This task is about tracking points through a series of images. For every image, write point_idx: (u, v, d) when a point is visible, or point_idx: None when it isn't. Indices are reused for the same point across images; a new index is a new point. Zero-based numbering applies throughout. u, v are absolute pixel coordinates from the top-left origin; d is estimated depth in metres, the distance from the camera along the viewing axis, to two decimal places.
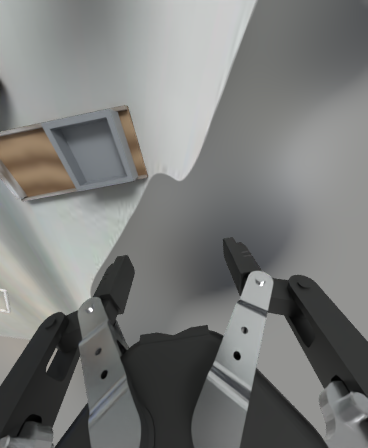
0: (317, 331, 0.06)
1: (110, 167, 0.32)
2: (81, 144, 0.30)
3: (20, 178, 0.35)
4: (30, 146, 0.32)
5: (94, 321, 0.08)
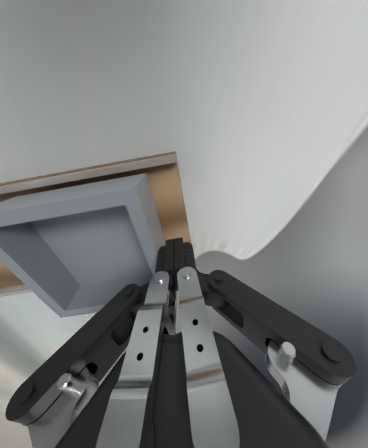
0: (243, 312, 0.07)
1: (124, 265, 0.17)
2: (67, 233, 0.14)
3: None
4: None
5: (157, 295, 0.08)
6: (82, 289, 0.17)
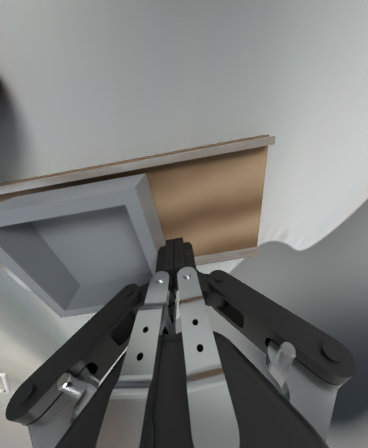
0: (243, 312, 0.07)
1: (124, 265, 0.17)
2: (67, 233, 0.14)
3: None
4: None
5: (157, 295, 0.08)
6: (82, 289, 0.17)
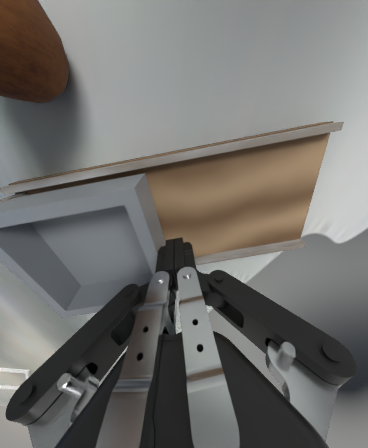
0: (243, 312, 0.07)
1: (125, 265, 0.17)
2: (67, 234, 0.14)
3: None
4: None
5: (157, 295, 0.08)
6: (83, 289, 0.17)
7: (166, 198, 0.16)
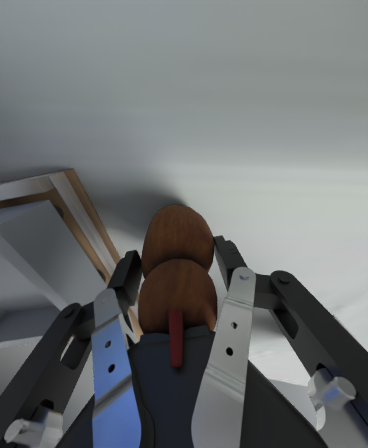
0: (300, 323, 0.06)
1: None
2: None
3: None
4: None
5: (107, 312, 0.08)
6: None
7: None
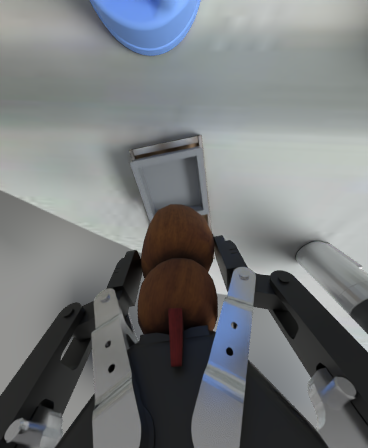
0: (300, 323, 0.06)
1: (160, 194, 0.31)
2: (181, 170, 0.29)
3: None
4: None
5: (107, 312, 0.08)
6: (141, 168, 0.27)
7: None
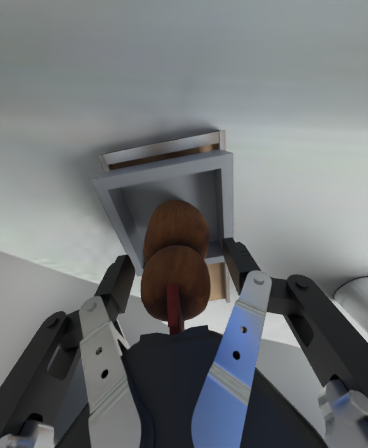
0: (316, 330, 0.06)
1: None
2: (189, 191, 0.17)
3: None
4: None
5: (95, 320, 0.08)
6: (118, 188, 0.15)
7: None
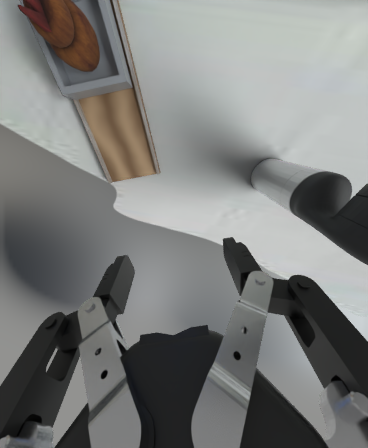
0: (317, 331, 0.06)
1: None
2: (90, 23, 0.25)
3: None
4: None
5: (94, 321, 0.08)
6: None
7: (121, 100, 0.33)
